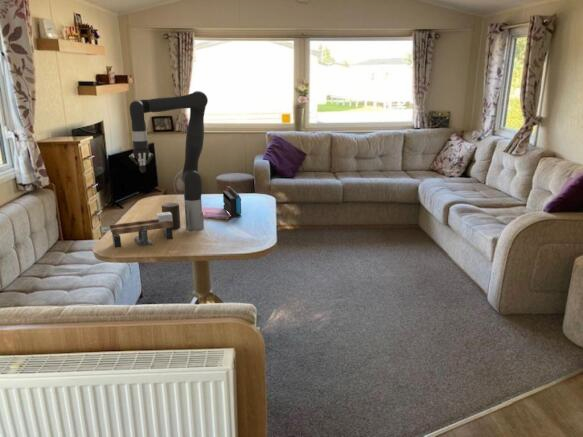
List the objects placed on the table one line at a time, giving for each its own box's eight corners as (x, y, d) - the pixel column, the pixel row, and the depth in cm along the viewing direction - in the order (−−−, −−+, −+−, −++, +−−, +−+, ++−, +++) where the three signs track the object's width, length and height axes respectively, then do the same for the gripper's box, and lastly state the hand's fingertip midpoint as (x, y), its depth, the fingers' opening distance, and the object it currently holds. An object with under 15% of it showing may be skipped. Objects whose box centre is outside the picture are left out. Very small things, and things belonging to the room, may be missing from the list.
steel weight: (170, 220, 250) (169, 211, 248) (172, 223, 245) (172, 214, 244) (157, 222, 246) (156, 213, 245) (159, 225, 242) (158, 215, 241)
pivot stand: (167, 233, 256) (166, 216, 253) (174, 241, 244) (173, 224, 241) (112, 241, 243) (110, 224, 240) (116, 250, 231) (114, 232, 228)
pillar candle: (176, 230, 260) (174, 204, 256) (159, 229, 262) (158, 203, 258) (183, 225, 269) (182, 200, 265) (167, 224, 271) (165, 199, 267)
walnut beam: (169, 222, 252) (168, 217, 251) (173, 226, 244) (173, 221, 244) (110, 229, 238) (109, 224, 238) (112, 235, 231) (112, 229, 230)
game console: (242, 218, 283) (242, 195, 279) (232, 219, 281) (231, 196, 277) (231, 206, 308) (231, 184, 304) (222, 207, 306) (221, 185, 302)
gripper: (151, 138, 252) (153, 169, 257) (125, 139, 246) (128, 172, 251) (154, 139, 245) (157, 172, 251) (128, 141, 239) (131, 174, 245)
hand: (142, 172), depth 251 cm, fingers closed
